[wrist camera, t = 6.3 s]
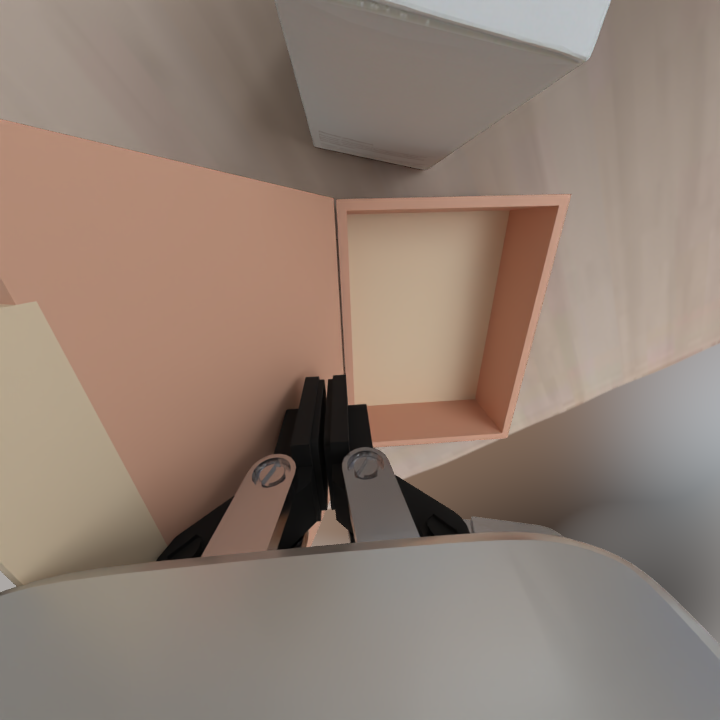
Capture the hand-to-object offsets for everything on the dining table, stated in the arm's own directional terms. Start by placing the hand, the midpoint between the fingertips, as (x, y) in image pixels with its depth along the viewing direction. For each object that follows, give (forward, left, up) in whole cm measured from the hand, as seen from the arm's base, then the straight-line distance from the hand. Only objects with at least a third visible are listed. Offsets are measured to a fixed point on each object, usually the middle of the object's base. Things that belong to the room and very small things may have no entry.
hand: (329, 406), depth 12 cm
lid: (+2, 0, +1) cm, 2 cm away
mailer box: (-7, 0, -11) cm, 13 cm away
